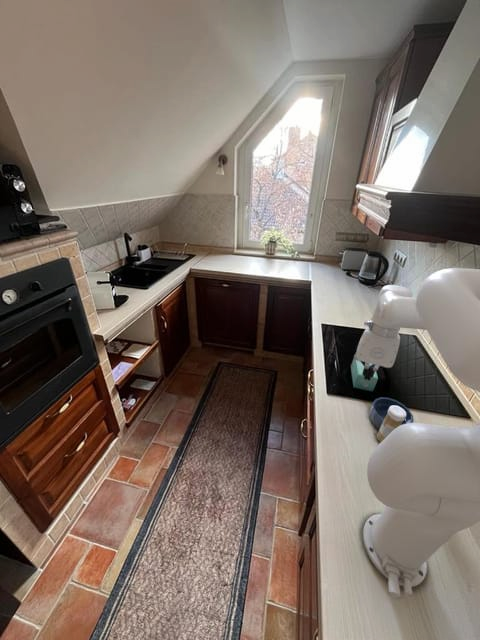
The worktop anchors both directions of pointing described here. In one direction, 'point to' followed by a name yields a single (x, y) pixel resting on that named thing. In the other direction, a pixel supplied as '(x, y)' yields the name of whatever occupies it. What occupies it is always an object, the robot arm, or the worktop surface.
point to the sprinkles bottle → (391, 421)
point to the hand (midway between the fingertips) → (366, 377)
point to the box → (362, 377)
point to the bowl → (386, 411)
